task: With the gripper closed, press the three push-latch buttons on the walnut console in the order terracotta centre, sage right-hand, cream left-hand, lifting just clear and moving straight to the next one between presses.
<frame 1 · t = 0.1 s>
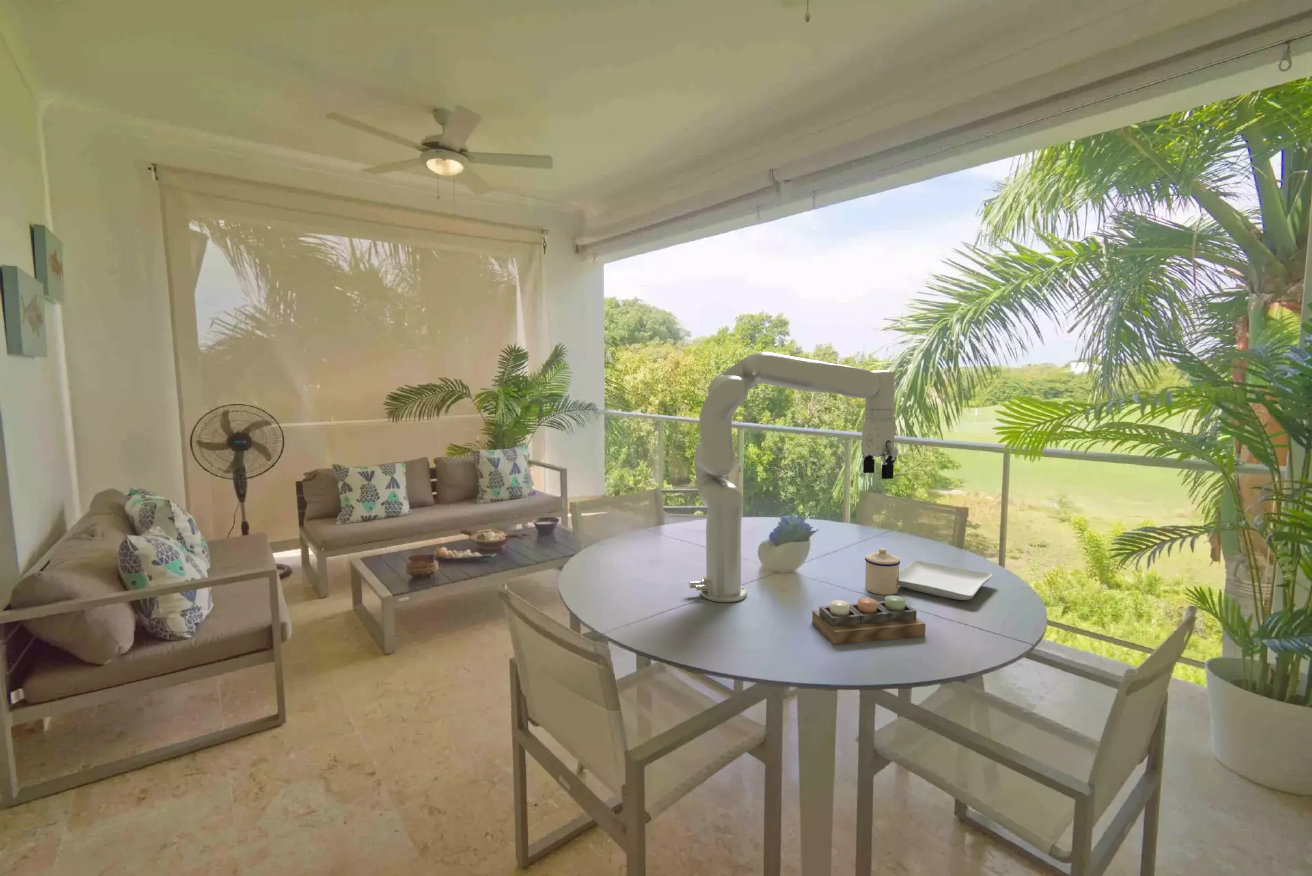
hand: (877, 475, 165), 31 cm above the table, tool pointing down, fingers open, 9 cm apart
salad plate: (941, 587, 164), on the table, touching teacup with lid
terracotta button: (867, 606, 138), point 6 cm above the table, slide at 0.0 cm
button console: (866, 629, 138), on the table
cream button: (839, 608, 136), point 6 cm above the table, slide at 0.0 cm
teacup with lid: (879, 588, 164), on the table, touching salad plate
sage button: (894, 603, 139), point 6 cm above the table, slide at 0.0 cm
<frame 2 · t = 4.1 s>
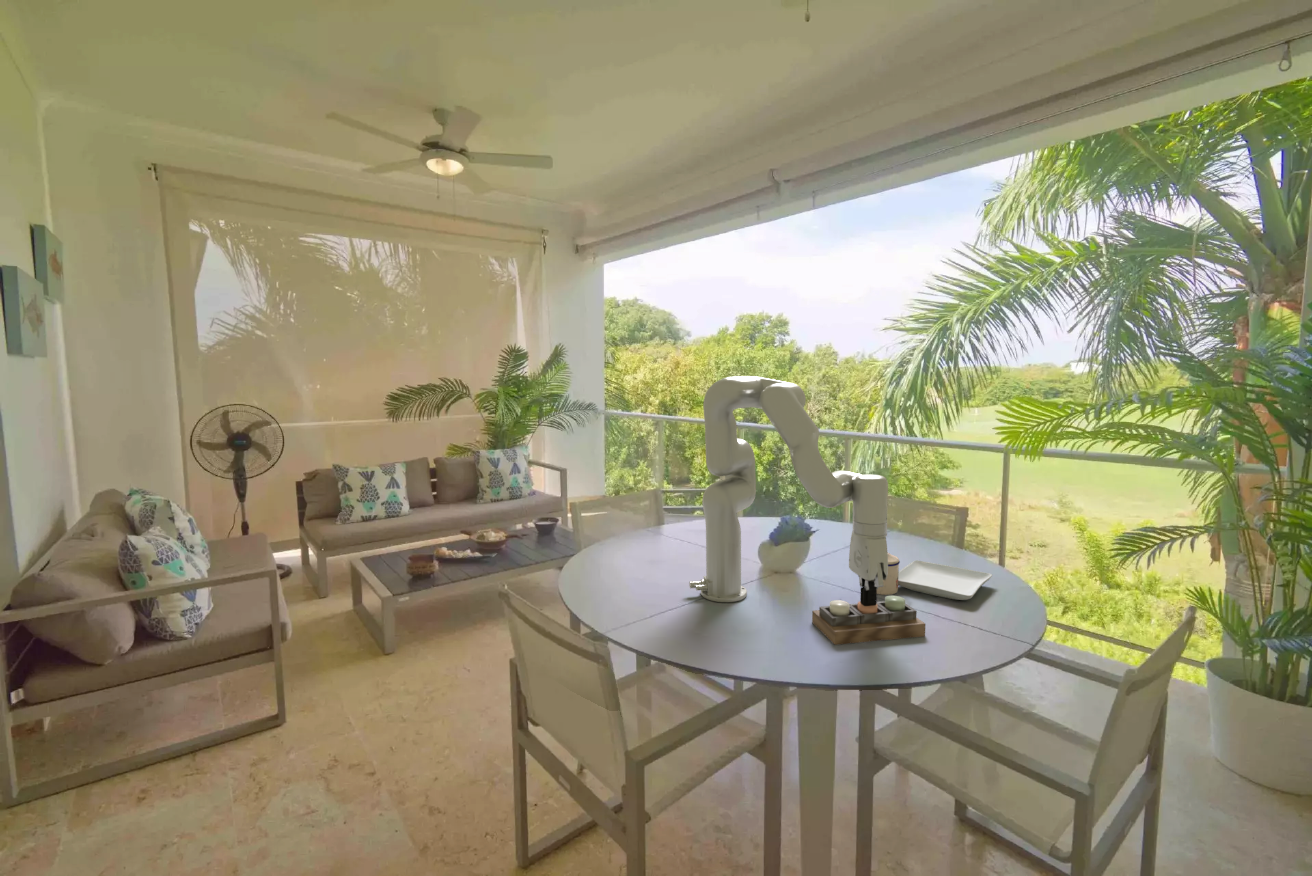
hand: (868, 604, 137), 6 cm above the table, tool pointing down, fingers closed
terracotta button: (867, 609, 138), point 5 cm above the table, slide at 0.7 cm, touching gripper
everything else where it was.
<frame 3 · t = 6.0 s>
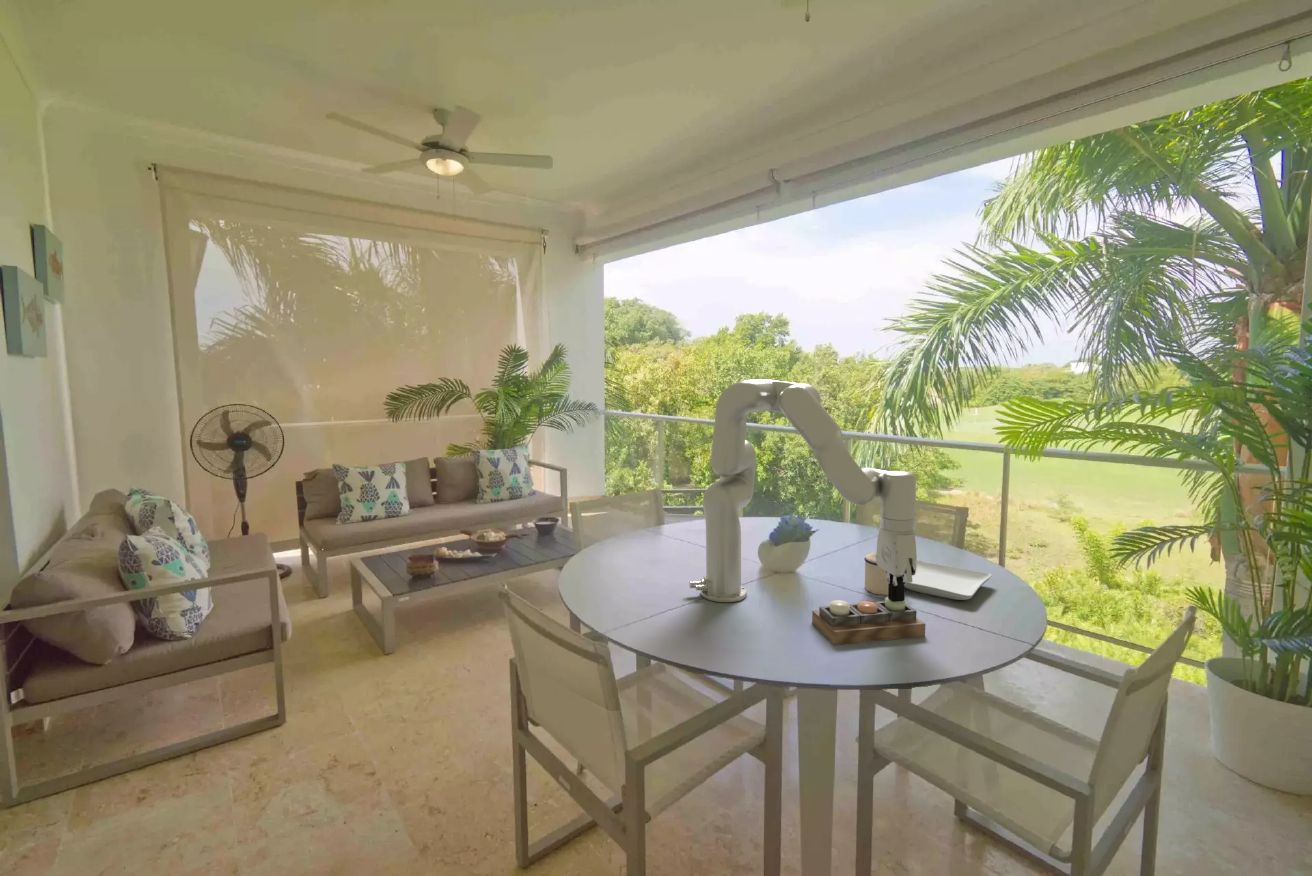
hand: (896, 600, 138), 7 cm above the table, tool pointing down, fingers closed
terracotta button: (867, 609, 138), point 5 cm above the table, slide at 0.8 cm
sage button: (894, 604, 139), point 5 cm above the table, slide at 0.2 cm, touching gripper
everything else where it was.
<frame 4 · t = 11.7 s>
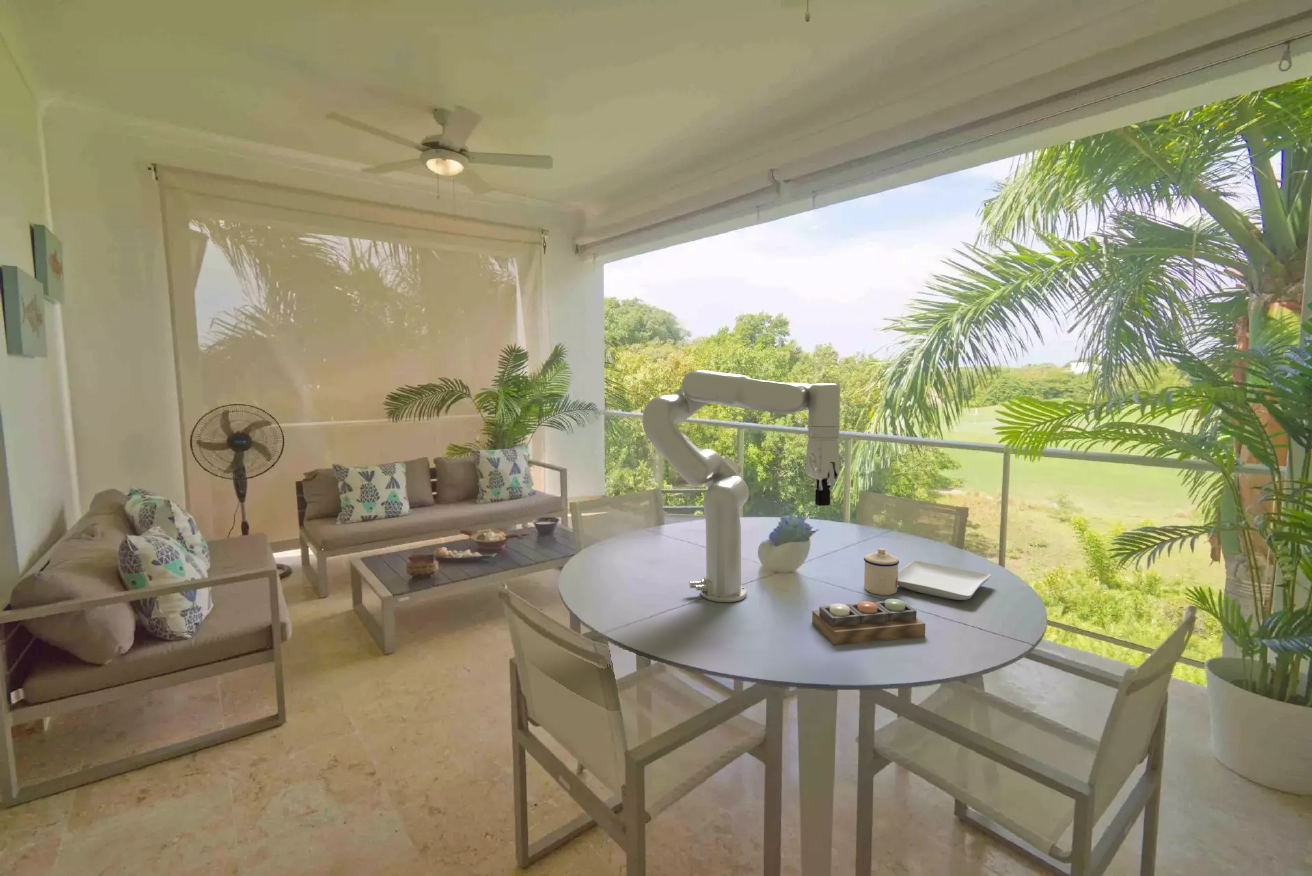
hand: (822, 504, 148), 27 cm above the table, tool pointing down, fingers closed
cream button: (839, 612, 136), point 5 cm above the table, slide at 0.8 cm
sage button: (894, 607, 139), point 5 cm above the table, slide at 0.8 cm
everything else where it was.
at the end: terracotta button slide at 0.8 cm; sage button slide at 0.8 cm; cream button slide at 0.8 cm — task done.
